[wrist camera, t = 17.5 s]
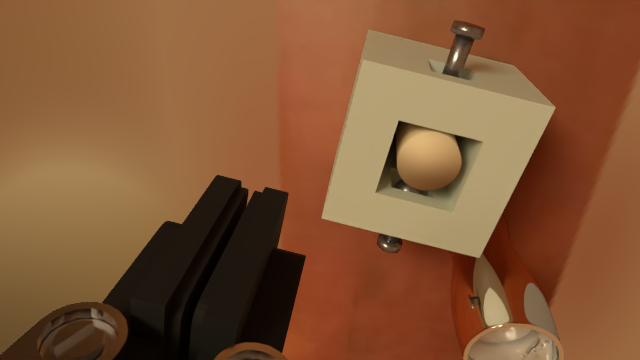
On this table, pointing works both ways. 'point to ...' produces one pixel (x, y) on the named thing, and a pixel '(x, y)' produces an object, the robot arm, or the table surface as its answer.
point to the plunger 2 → (461, 46)
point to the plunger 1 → (391, 242)
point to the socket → (440, 114)
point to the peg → (426, 156)
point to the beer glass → (500, 305)
